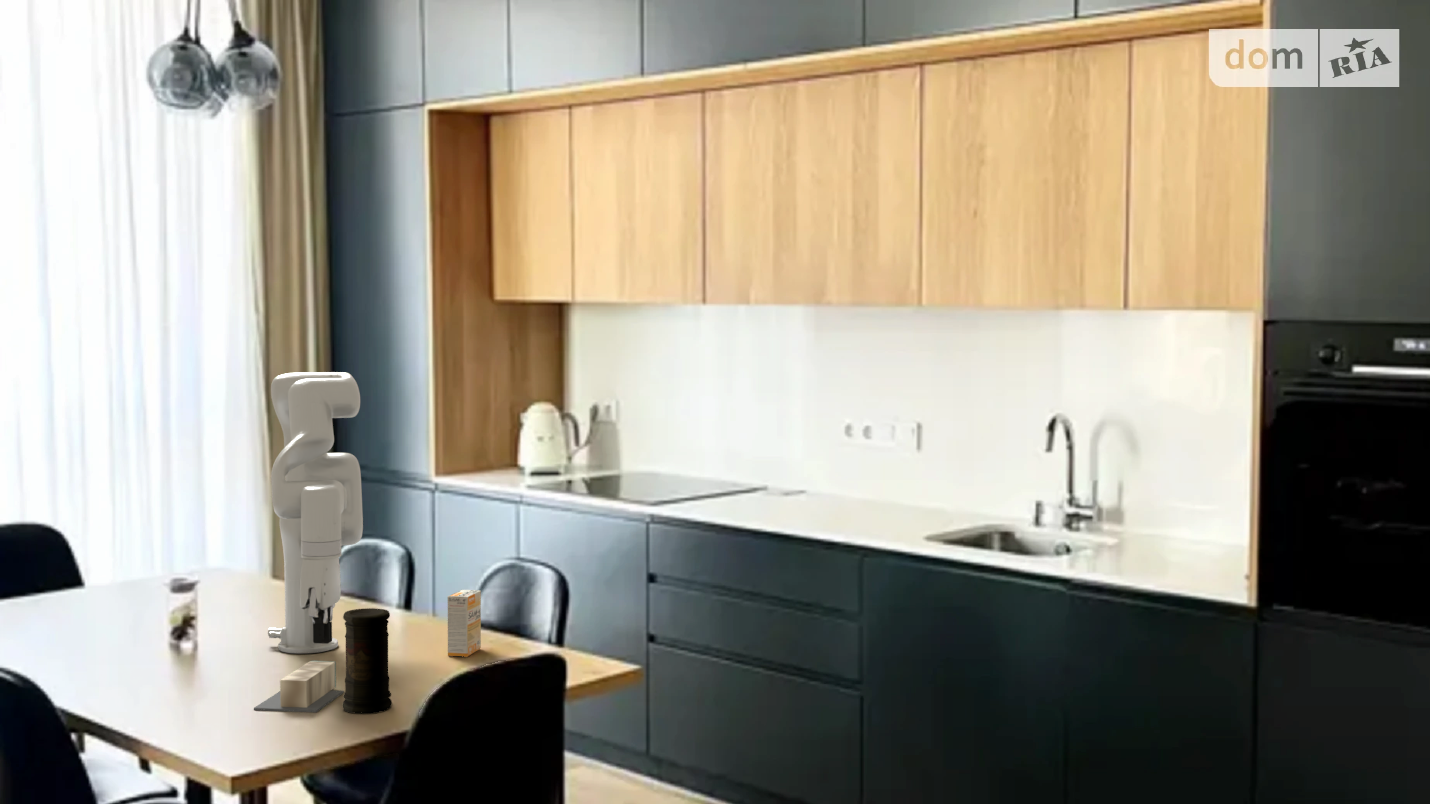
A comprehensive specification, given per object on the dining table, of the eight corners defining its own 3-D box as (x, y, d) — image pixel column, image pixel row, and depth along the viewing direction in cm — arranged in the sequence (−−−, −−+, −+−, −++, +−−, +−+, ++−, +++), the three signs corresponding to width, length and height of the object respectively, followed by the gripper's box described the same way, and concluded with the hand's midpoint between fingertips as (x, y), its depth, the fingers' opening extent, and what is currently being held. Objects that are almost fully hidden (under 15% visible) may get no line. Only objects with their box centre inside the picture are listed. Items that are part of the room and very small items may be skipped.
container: (346, 701, 279) (345, 607, 278) (394, 701, 280) (394, 606, 279) (338, 715, 270) (337, 617, 269) (388, 714, 271) (387, 616, 270)
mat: (253, 710, 273) (253, 707, 273) (284, 690, 287) (283, 688, 287) (316, 712, 272) (316, 710, 272) (343, 692, 286) (343, 690, 286)
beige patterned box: (311, 685, 289) (280, 706, 274) (310, 660, 289) (280, 679, 274) (336, 686, 288) (306, 707, 274) (335, 661, 288) (306, 680, 273)
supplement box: (468, 657, 314) (468, 596, 314) (447, 656, 315) (446, 595, 315) (482, 649, 322) (481, 589, 322) (461, 647, 323) (460, 588, 323)
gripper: (317, 542, 295) (318, 633, 296) (287, 554, 280) (288, 650, 281) (353, 543, 294) (354, 634, 295) (325, 555, 279) (327, 651, 280)
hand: (322, 642), depth 288 cm, fingers closed
